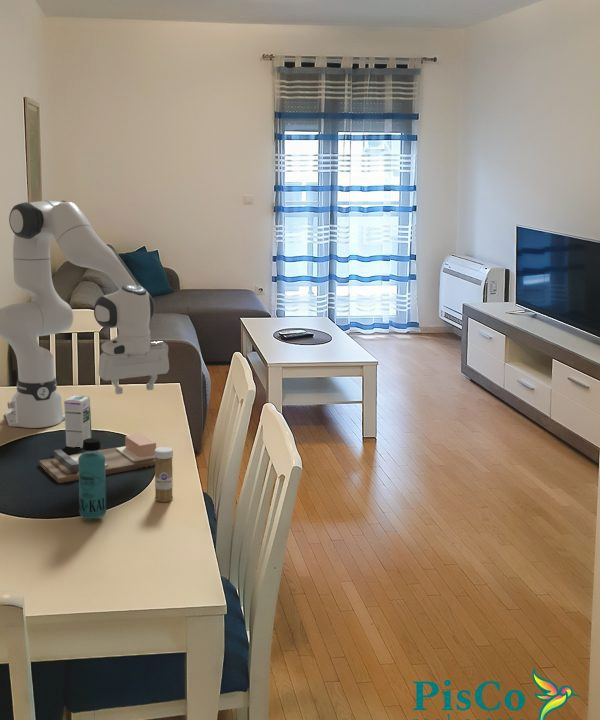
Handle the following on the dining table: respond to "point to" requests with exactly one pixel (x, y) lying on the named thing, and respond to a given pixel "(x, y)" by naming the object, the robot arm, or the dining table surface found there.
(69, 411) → the syrup box
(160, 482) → the sprinkles bottle
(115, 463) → the board
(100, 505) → the beverage bottle
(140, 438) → the pink rectangular block
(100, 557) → the dining table surface
